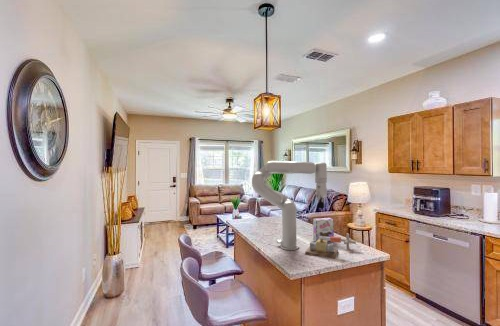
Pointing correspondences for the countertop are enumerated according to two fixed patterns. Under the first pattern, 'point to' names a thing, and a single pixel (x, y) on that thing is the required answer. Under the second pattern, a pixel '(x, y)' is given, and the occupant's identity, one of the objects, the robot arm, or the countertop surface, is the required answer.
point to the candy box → (323, 228)
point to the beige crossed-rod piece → (348, 241)
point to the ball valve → (321, 246)
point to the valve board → (321, 254)
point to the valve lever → (331, 239)
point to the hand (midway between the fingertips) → (321, 207)
